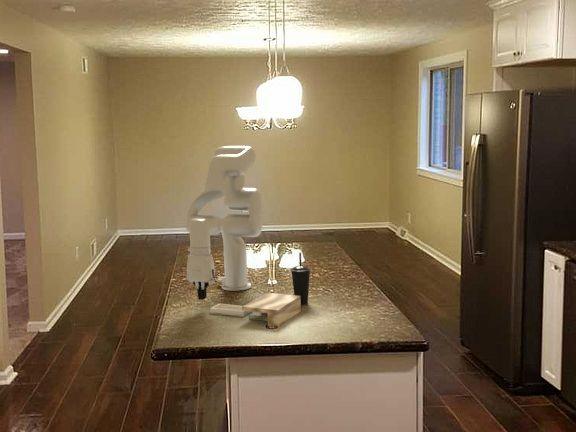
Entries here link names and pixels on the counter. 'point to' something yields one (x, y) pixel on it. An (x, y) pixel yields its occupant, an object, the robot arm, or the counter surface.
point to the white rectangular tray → (229, 310)
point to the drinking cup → (301, 281)
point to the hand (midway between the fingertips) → (202, 298)
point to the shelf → (274, 307)
